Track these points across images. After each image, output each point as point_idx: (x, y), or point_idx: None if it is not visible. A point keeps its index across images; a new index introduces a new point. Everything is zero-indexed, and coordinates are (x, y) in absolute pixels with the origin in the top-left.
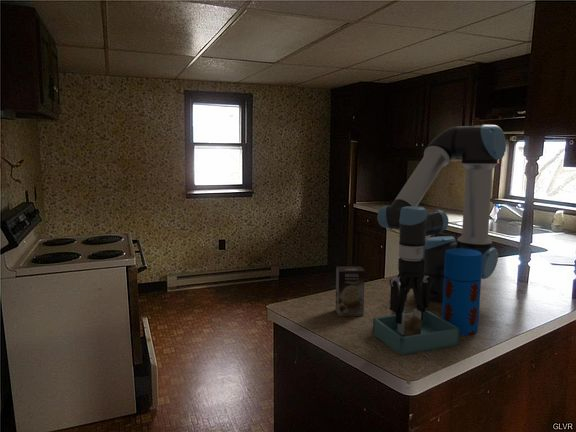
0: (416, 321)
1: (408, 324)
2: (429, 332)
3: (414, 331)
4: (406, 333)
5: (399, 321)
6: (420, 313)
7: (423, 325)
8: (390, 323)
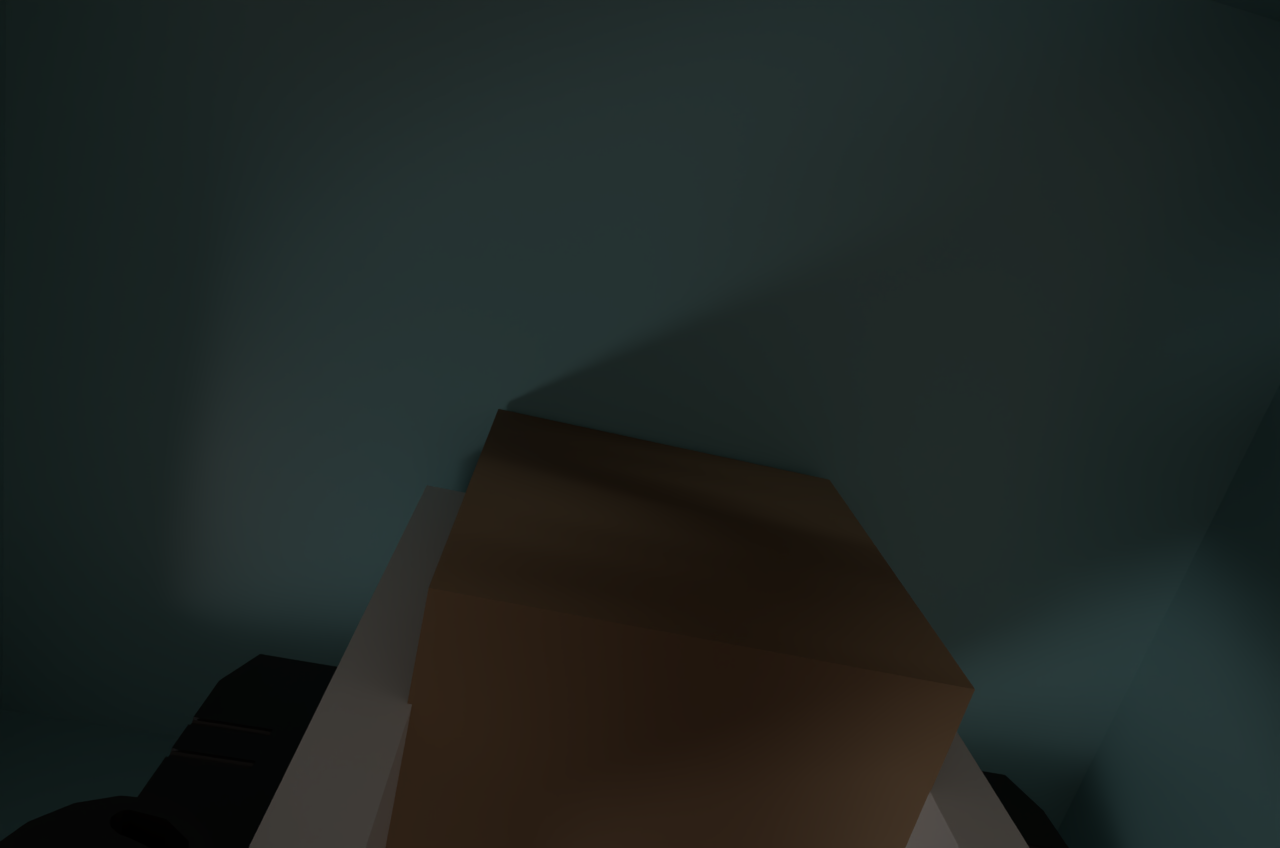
0: (626, 598)
1: (881, 619)
2: (214, 414)
3: (658, 481)
4: (848, 518)
5: (1017, 822)
6: (304, 819)
7: (89, 699)
8: None
